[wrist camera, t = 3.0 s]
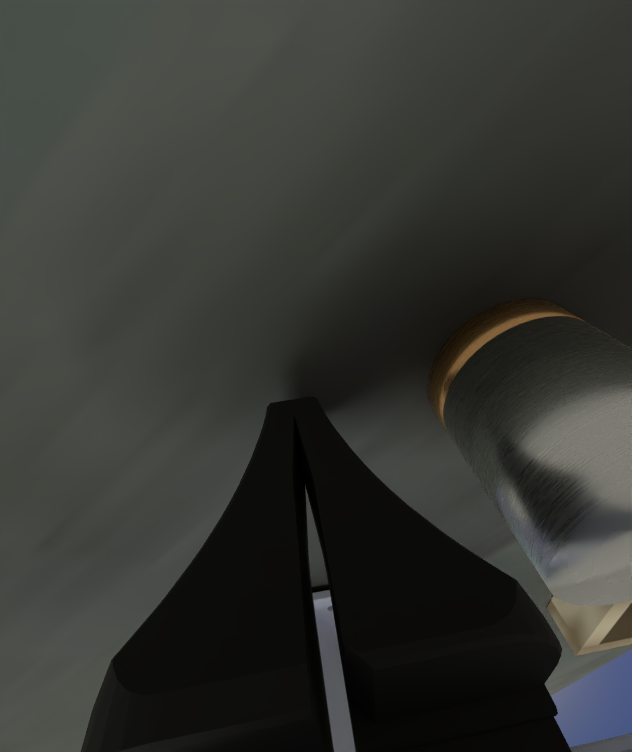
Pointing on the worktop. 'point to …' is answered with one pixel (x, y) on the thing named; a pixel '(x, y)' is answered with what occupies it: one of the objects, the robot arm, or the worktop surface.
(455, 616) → the robot arm
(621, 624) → the rack
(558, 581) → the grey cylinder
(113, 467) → the worktop surface
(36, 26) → the worktop surface
